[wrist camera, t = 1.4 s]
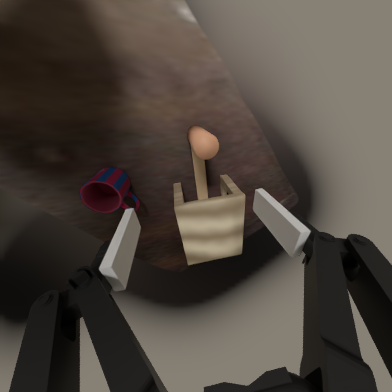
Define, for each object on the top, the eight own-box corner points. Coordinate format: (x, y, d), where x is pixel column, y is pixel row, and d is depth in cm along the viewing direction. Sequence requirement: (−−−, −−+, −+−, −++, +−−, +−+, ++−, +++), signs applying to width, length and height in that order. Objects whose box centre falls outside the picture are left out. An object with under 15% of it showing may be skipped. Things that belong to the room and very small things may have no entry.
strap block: (178, 127, 28) (182, 137, 19) (209, 123, 29) (227, 130, 19) (194, 222, 41) (201, 256, 32) (215, 218, 41) (229, 251, 32)
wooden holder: (173, 183, 34) (174, 208, 25) (226, 173, 35) (245, 195, 26) (184, 232, 42) (188, 265, 34) (227, 224, 43) (241, 253, 34)
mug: (108, 160, 30) (93, 172, 24) (149, 190, 34) (144, 207, 28) (90, 182, 31) (71, 198, 25) (131, 208, 36) (123, 227, 30)
